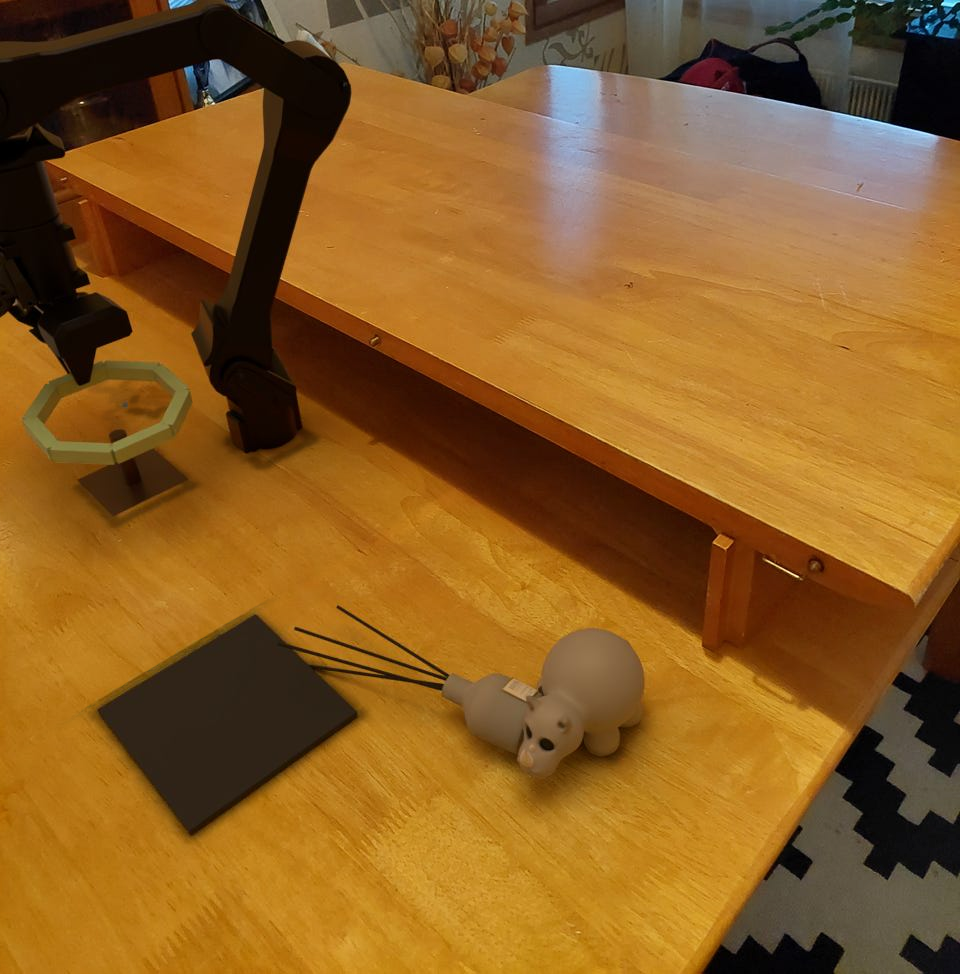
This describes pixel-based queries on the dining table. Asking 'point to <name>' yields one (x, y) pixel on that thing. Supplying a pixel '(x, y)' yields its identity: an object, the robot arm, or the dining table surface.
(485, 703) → the reed diffuser
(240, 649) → the mat
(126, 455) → the ring
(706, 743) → the dining table surface
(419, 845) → the dining table surface
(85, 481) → the stand
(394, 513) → the dining table surface
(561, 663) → the round bodied animal figurine
